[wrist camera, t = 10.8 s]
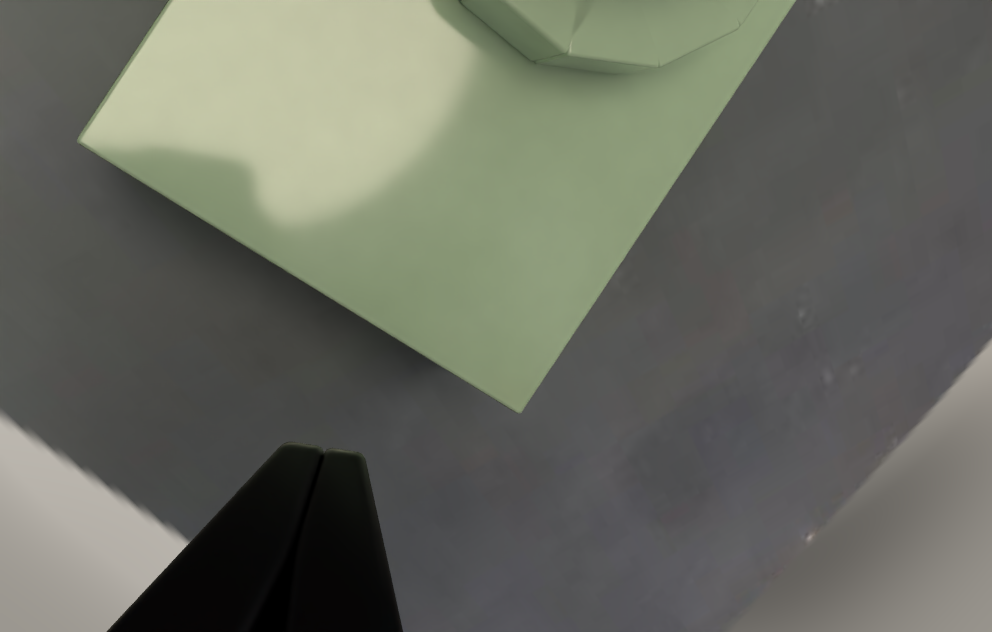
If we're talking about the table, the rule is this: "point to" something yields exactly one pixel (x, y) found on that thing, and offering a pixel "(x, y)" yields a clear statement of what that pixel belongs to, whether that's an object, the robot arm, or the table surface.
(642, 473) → the table surface
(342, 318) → the table surface
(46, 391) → the table surface
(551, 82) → the push button box
